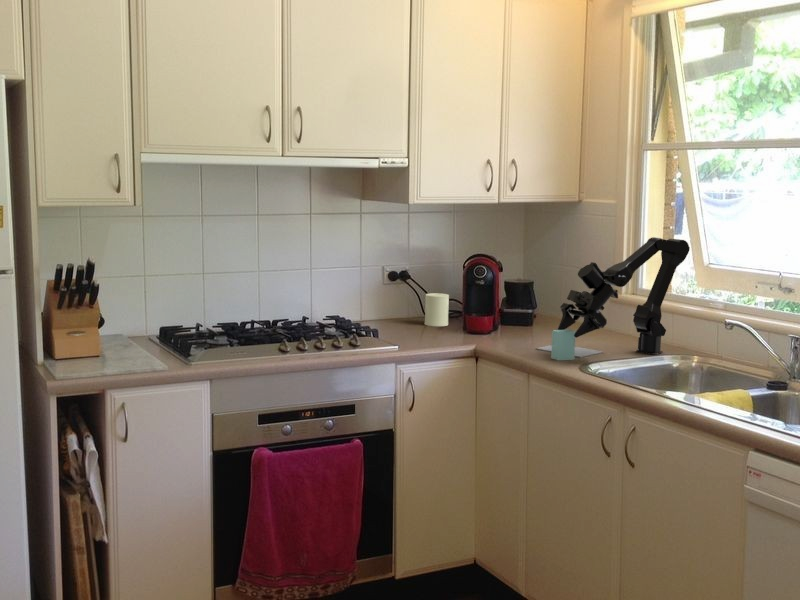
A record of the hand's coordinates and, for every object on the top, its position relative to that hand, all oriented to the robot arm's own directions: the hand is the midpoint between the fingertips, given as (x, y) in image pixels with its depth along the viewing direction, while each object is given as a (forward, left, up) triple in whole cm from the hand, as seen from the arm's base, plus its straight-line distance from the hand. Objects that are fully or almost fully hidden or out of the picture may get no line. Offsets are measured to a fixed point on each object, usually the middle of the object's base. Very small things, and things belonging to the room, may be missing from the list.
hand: (566, 334), depth 288 cm
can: (+70, -14, -8) cm, 72 cm away
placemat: (+6, -11, -8) cm, 15 cm away
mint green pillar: (0, +1, -8) cm, 8 cm away
